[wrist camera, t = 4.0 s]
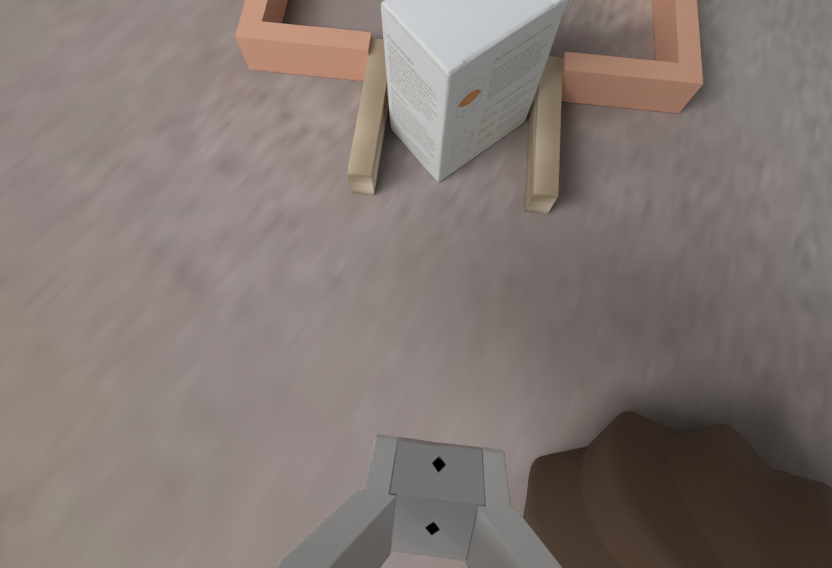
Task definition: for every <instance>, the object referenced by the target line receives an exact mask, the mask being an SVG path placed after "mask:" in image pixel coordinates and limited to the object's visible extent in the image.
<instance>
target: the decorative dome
mask: <svg viewBox="0 0 832 568" xmlns="http://www.w3.org/2000/svg"><path fill="white" fill-rule="evenodd" d="M523 518H524V520H525V521H526V522H527V524H528V525H529V526H530V527H531V529H532V530H533V531H534V532H535V534H536V535H537V536H538V537H539V539H540V540H541V541H542V543H543V544H544V545H545V546H546V548H547V549H548V550H549V551H550V553H551V554H552V555H553V557H554V558H555V559H556V560H557V562H558V563H559V564H560V565H561V567H562V568H832V489H831V488H830V487H829V486H828V485H826V484H824V483H821V482H817V481H813V480H810V479H806V478H802V477H798V476H795V475H791V474H788V473H784V472H781V471H778V470H775V469H773V468H771V467H770V466H769V465H768V464H767V463H766V462H765V461H764V460H763V459H762V458H761V457H760V456H759V455H758V454H757V453H756V452H755V451H754V450H753V449H752V448H751V447H750V446H749V445H748V443H747V442H746V441H745V440H744V439H743V438H742V436H741V435H740V434H739V433H738V432H737V431H736V430H735V429H734V428H732V427H730V426H728V425H725V424H717V425H713V426H709V427H706V428H702V429H698V430H694V431H689V432H683V433H678V432H675V431H673V430H671V429H669V428H666V427H664V426H662V425H660V424H658V423H656V422H653V421H651V420H649V419H647V418H645V417H643V416H640V415H638V414H636V413H634V412H623V413H621V414H620V415H618V416H617V417H616V418H615V419H614V420H613V421H612V422H611V423H610V424H609V425H608V426H607V427H606V428H605V429H604V430H603V432H602V433H601V434H600V435H599V436H598V437H597V438H596V439H595V440H594V441H593V442H592V443H591V444H590V445H589V446H587V447H584V448H579V449H575V450H570V451H565V452H560V453H555V454H550V455H546V456H541V457H539V458H537V459H536V460H535V461H534V462H533V464H532V466H531V470H530V475H529V480H528V489H527V497H526V504H525V510H524V516H523Z"/></svg>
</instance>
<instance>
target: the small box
mask: <svg viewBox="0 0 832 568" xmlns="http://www.w3.org/2000/svg"><path fill="white" fill-rule="evenodd" d="M567 3H568V0H384V1H382V2H381V14H382V27H383V39H384V51H385V64H386V77H387V88H388V100H389V112H390V125H391V129H392V131H393V132H394V133H395V134H396V135H397V136H398V137H399V139H400V140H401V141H402V142H403V143H404V144H405V145H406V147H407V148H408V149H409V150H410V151H411V152H412V154H413V155H414V156H415V157H416V158H417V159H418V160H419V161H420V163H421V164H422V165H423V166H424V167H425V168H426V169H427V171H428V172H429V173H430V174H431V175H432V176H433V177H434V178H435V180H436V181H437V182H441V181H442V180H443V179H445V178H446V177H447V176H449V175H450V174H451V173H453V172H454V171H456V170H457V169H459V168H460V167H462V166H463V165H464V164H466V163H467V162H469V161H470V160H471V159H473V158H474V157H476V156H477V155H479V154H480V153H481V152H483V151H484V150H486V149H487V148H489V147H490V146H491V145H493V144H494V143H496V142H497V141H499V140H500V139H501V138H503V137H504V136H506V135H507V134H509V133H510V132H511V131H513V130H514V129H516V128H517V127H519V126H520V125H522V124H523V123H524V122H525V120H526V118H527V115H528V112H529V109H530V107H531V104H532V101H533V98H534V96H535V93H536V90H537V87H538V84H539V82H540V79H541V76H542V73H543V70H544V68H545V65H546V62H547V59H548V56H549V53H550V50H551V48H552V45H553V42H554V39H555V36H556V33H557V30H558V28H559V25H560V22H561V19H562V17H563V14H564V11H565V8H566V5H567Z"/></svg>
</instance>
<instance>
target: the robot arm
mask: <svg viewBox="0 0 832 568" xmlns="http://www.w3.org/2000/svg"><path fill="white" fill-rule="evenodd" d="M391 552H401V553H411V554H421V555H428V554H429V555H430V556H436V557H442V558H449V559H455V560H461V561H466V564H467V566H468V568H562V567H561V565H560V564H559V563H558V562H557V560H556V559H555V558H554V557H553V555H552V554H551V553H550V551H549V550H548V549H547V548H546V546H545V545H544V544H543V543H542V541H541V540H540V539H539V537H538V536H537V535H536V534H535V532H534V531H533V530H532V529H531V527H530V526H529V525H528V524H527V522H526V521H525V520H524V518H523V517H522V516H521V515H520V513H519V512H518V511H515V510H511V505H510V497H509V488H508V479H507V471H506V462H505V454H504V452H503V450H501V449H492V448H483V447H481V448H480V447H474V446H465V445H457V444H448V443H437V442H430V441H423V440H416V439H410V438H403V437H393V436H387V435H380V434H377V436H376V438H375V441H374V446H373V451H372V456H371V460H370V465H369V470H368V475H367V480H366V484H365V489H364V491H357V492H356V493H355V494H353V495H352V496H351V497H350V498H349V499H348V500H347V501H346V502H345V503H344V504H343V505H342V506H341V507H340V508H339V509H337V510H336V511H335V512H334V513H333V514H332V515H331V516H330V517H329V518H328V519H327V520H326V521H325V522H324V523H322V524H321V525H320V526H319V527H318V528H317V529H316V530H315V531H314V532H313V533H312V534H311V535H310V536H309V537H307V538H306V539H305V540H304V541H303V542H302V543H301V544H300V545H299V546H298V547H297V548H296V549H295V550H294V551H292V552H291V553H290V554H289V555H288V556H287V557H286V558H285V559H284V560H283V561H282V562H281V564H280V567H279V568H380V567H381V566H382V565H383V563H384V562H385V561H386V559H387V558H388V557H389V555H390V553H391Z"/></svg>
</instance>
